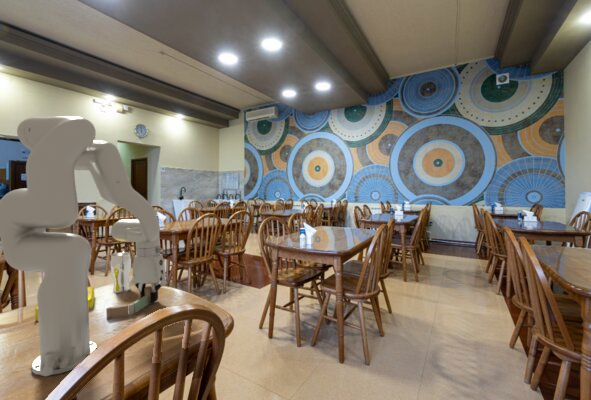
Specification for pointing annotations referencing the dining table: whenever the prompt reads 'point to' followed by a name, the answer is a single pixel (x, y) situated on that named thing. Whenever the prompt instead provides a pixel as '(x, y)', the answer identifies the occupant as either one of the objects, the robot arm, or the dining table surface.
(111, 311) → the flat brown box
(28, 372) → the dining table surface
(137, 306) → the hinged panel
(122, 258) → the beer glass
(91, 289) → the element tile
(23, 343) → the dining table surface
